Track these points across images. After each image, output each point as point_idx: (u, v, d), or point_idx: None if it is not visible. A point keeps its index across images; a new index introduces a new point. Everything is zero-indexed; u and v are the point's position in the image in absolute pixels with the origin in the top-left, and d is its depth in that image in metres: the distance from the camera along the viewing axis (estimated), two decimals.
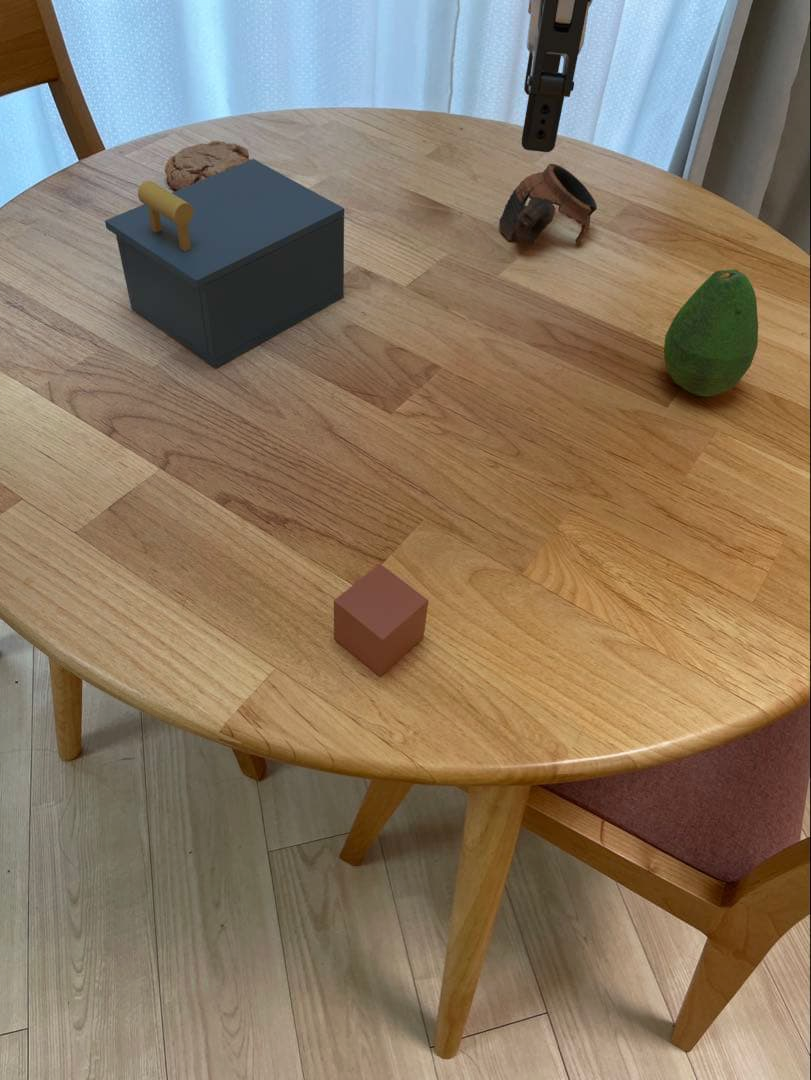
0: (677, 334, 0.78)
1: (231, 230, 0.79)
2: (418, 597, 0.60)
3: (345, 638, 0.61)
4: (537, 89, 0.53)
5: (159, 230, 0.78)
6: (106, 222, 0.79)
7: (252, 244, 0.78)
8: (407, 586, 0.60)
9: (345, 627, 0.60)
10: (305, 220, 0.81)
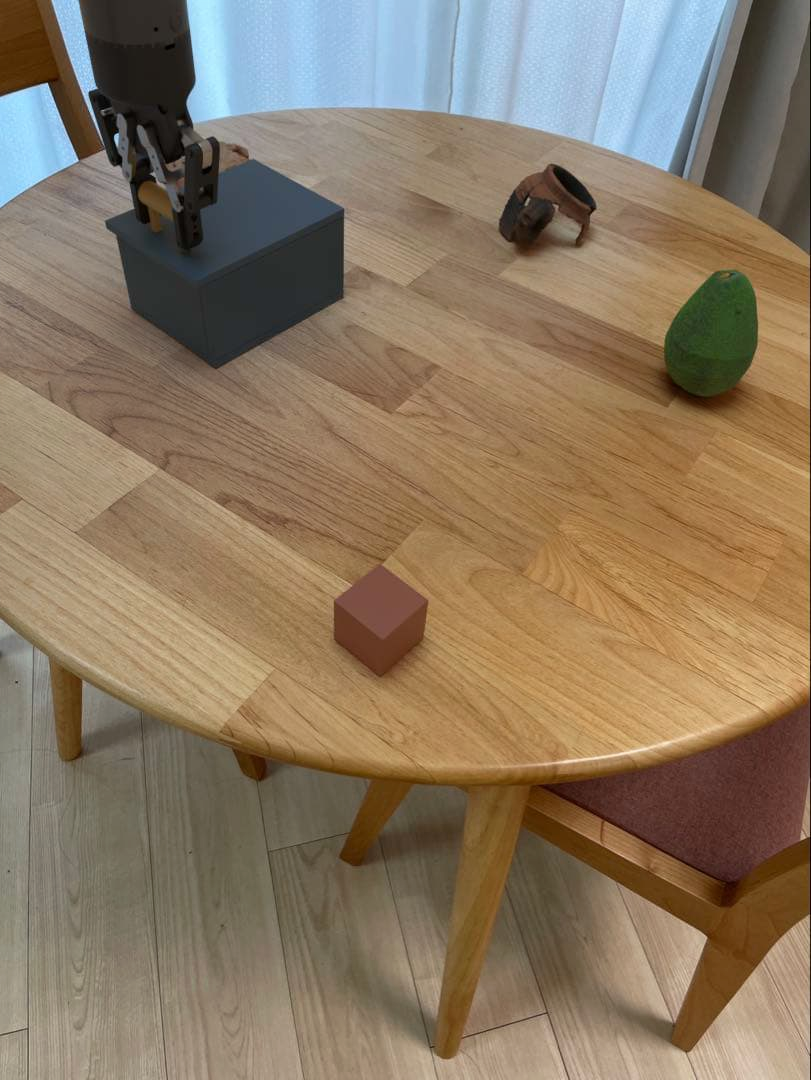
0: (677, 334, 0.78)
1: (231, 230, 0.79)
2: (418, 597, 0.60)
3: (345, 638, 0.61)
4: (197, 209, 0.70)
5: (159, 230, 0.78)
6: (106, 222, 0.79)
7: (252, 244, 0.78)
8: (407, 586, 0.60)
9: (345, 627, 0.60)
10: (305, 220, 0.81)
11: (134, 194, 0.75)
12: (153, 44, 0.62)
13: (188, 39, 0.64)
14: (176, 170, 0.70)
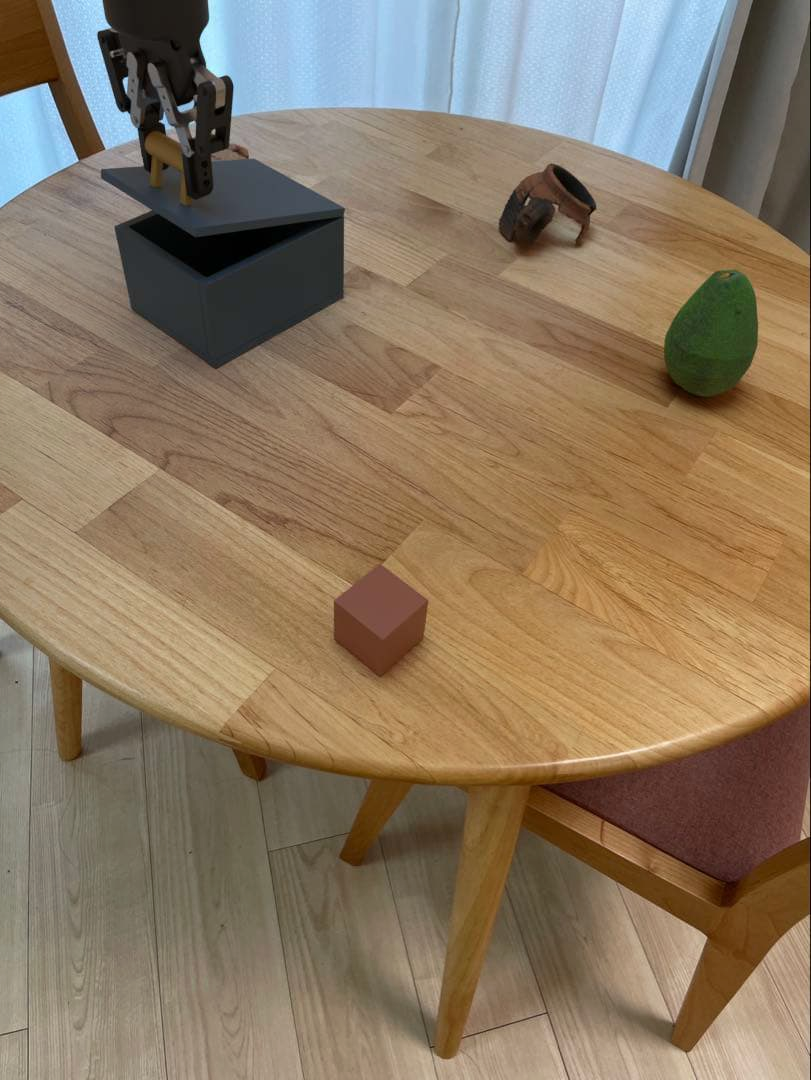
0: (677, 334, 0.78)
1: (232, 200, 0.77)
2: (418, 597, 0.60)
3: (345, 638, 0.61)
4: (208, 153, 0.68)
5: (158, 185, 0.75)
6: (102, 170, 0.75)
7: (254, 214, 0.76)
8: (407, 586, 0.60)
9: (345, 627, 0.60)
10: (307, 208, 0.80)
11: (142, 141, 0.73)
12: None
13: None
14: (187, 112, 0.68)
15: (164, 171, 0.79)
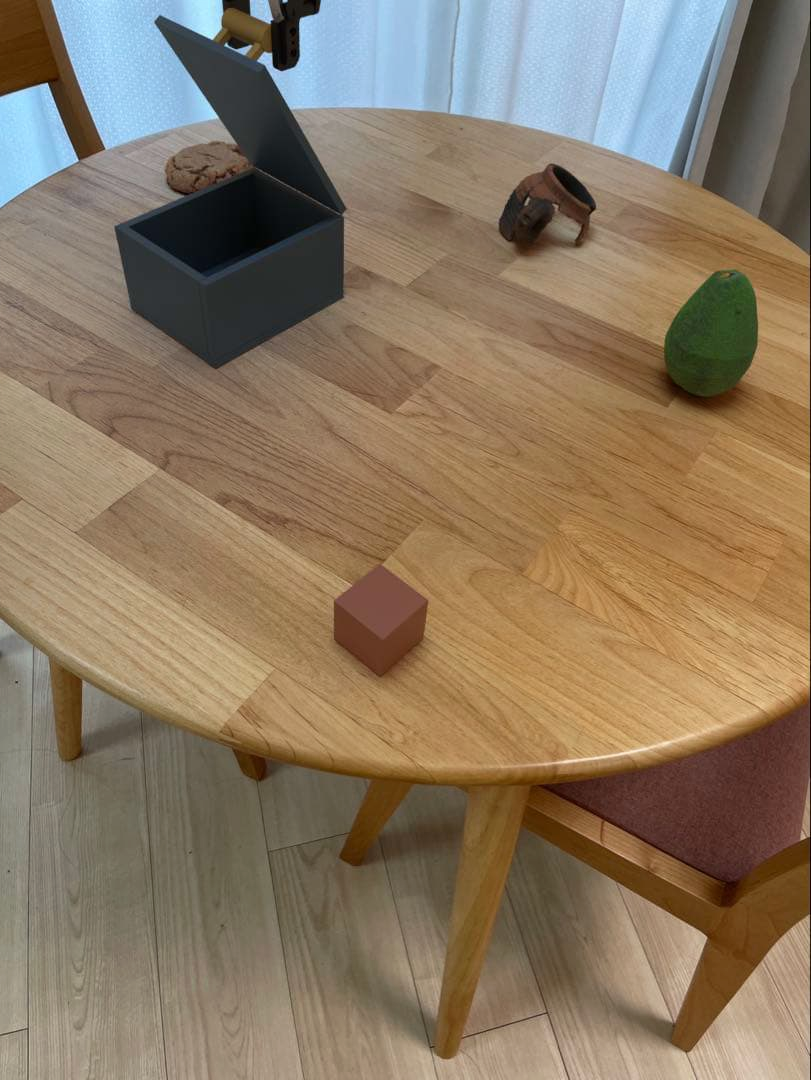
0: (677, 334, 0.78)
1: None
2: (418, 597, 0.60)
3: (345, 638, 0.61)
4: (300, 15, 0.68)
5: None
6: (160, 16, 0.72)
7: None
8: (407, 586, 0.60)
9: (345, 627, 0.60)
10: None
11: None
12: None
13: None
14: None
15: None
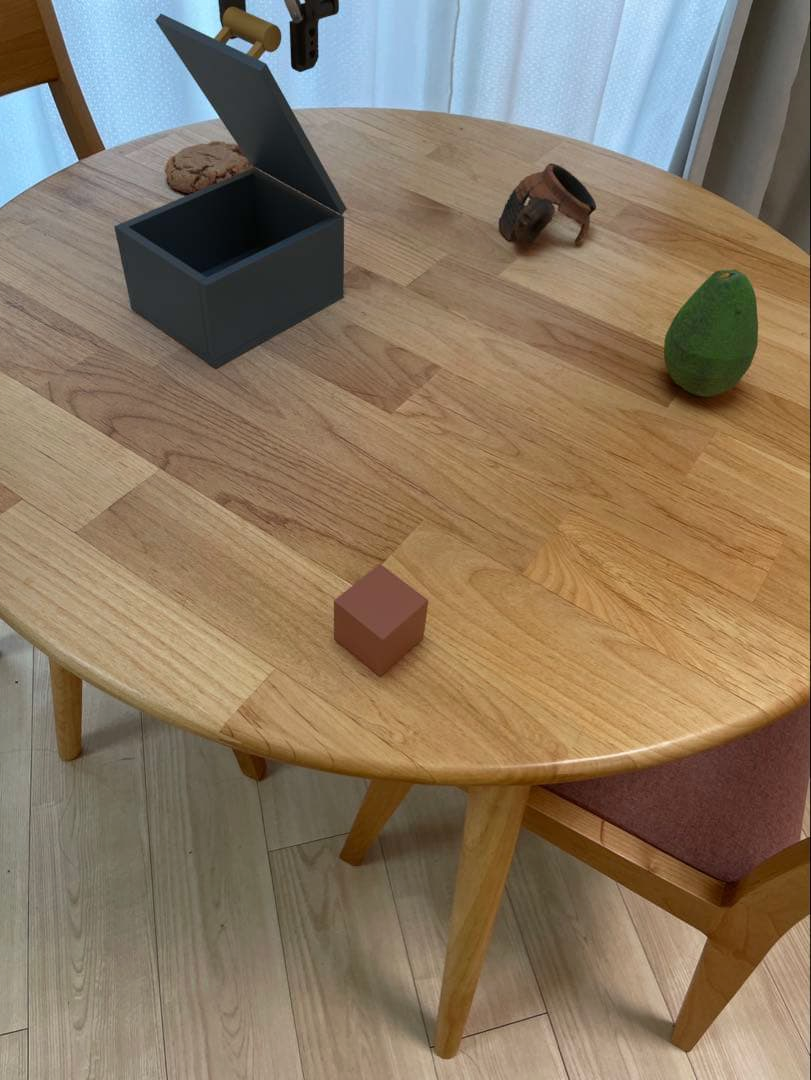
0: (677, 334, 0.78)
1: None
2: (418, 597, 0.60)
3: (345, 638, 0.61)
4: (319, 16, 0.67)
5: None
6: (162, 14, 0.72)
7: None
8: (407, 586, 0.60)
9: (345, 627, 0.60)
10: None
11: (223, 3, 0.73)
12: None
13: None
14: None
15: None
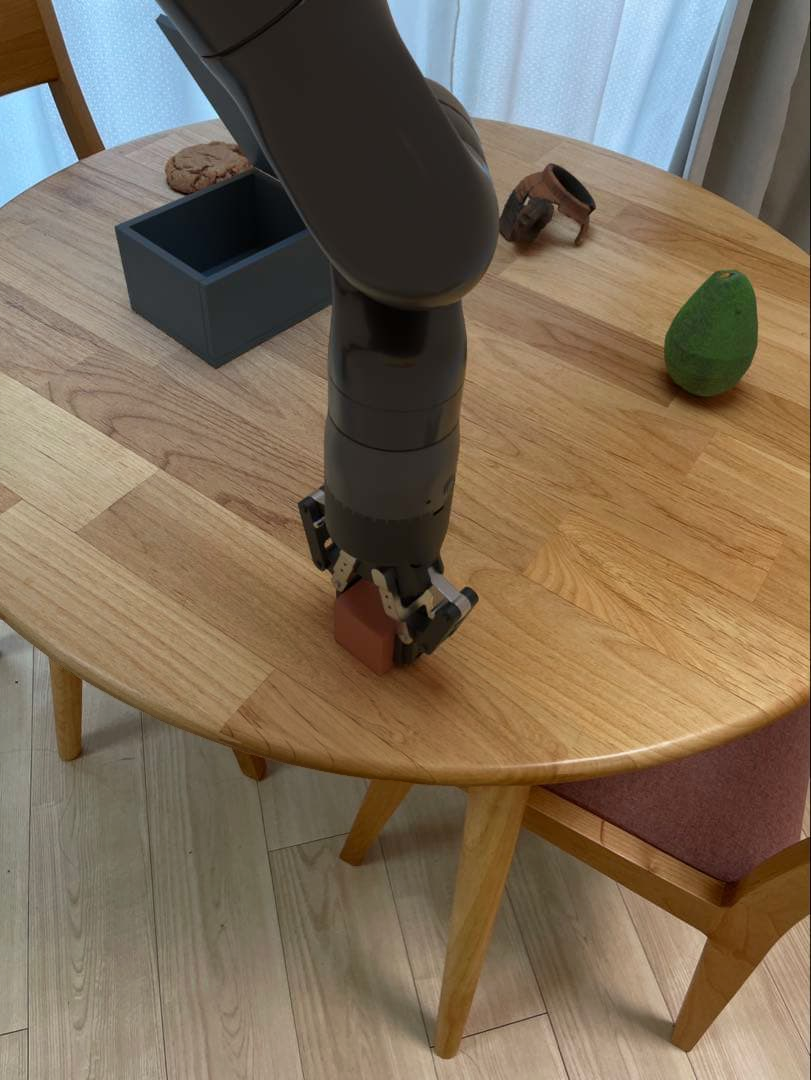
0: (677, 334, 0.78)
1: None
2: None
3: (345, 638, 0.61)
4: (434, 650, 0.57)
5: None
6: (162, 14, 0.72)
7: None
8: None
9: (345, 627, 0.60)
10: None
11: None
12: (421, 515, 0.48)
13: None
14: (410, 605, 0.56)
15: None
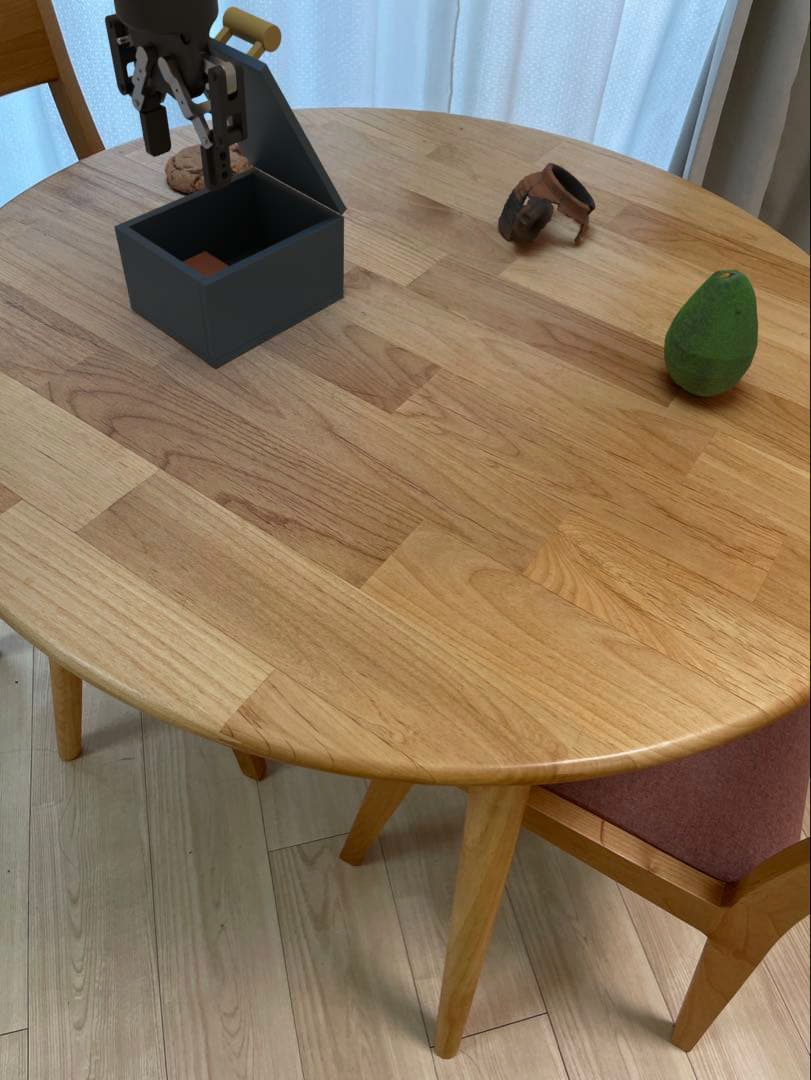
0: (677, 334, 0.78)
1: None
2: None
3: None
4: (227, 144, 0.68)
5: None
6: None
7: None
8: (222, 263, 0.83)
9: None
10: None
11: (144, 124, 0.73)
12: None
13: None
14: (201, 103, 0.68)
15: None
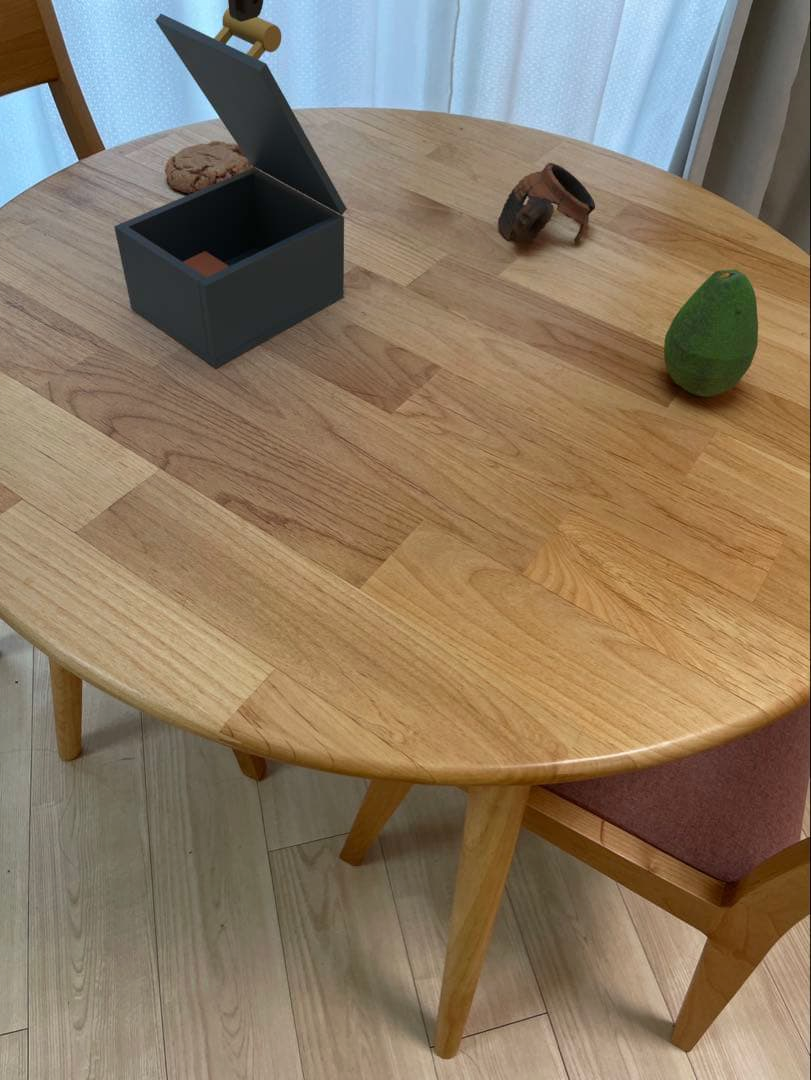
0: (677, 334, 0.78)
1: None
2: None
3: None
4: None
5: None
6: (162, 14, 0.72)
7: None
8: (222, 263, 0.83)
9: None
10: None
11: None
12: None
13: None
14: None
15: None
